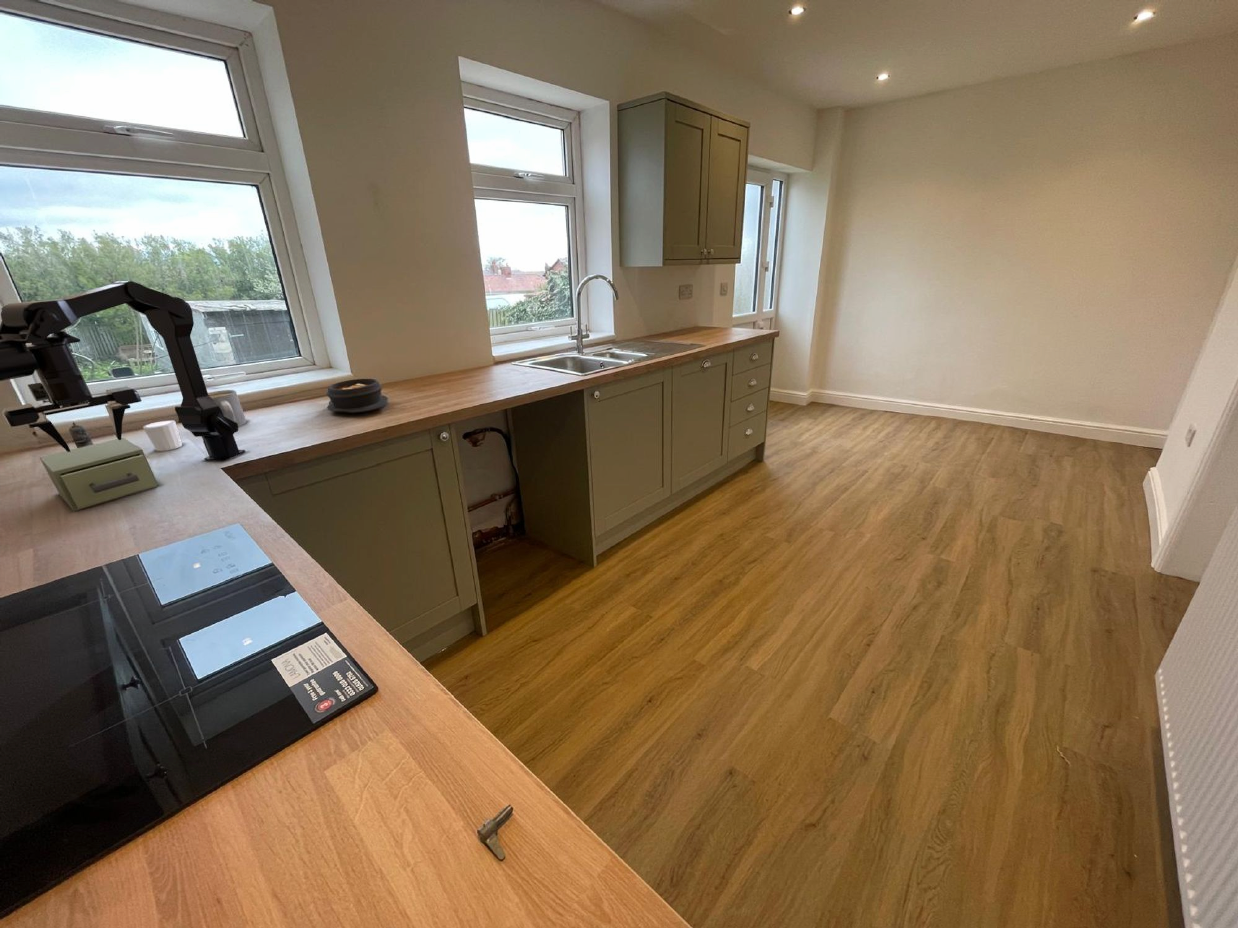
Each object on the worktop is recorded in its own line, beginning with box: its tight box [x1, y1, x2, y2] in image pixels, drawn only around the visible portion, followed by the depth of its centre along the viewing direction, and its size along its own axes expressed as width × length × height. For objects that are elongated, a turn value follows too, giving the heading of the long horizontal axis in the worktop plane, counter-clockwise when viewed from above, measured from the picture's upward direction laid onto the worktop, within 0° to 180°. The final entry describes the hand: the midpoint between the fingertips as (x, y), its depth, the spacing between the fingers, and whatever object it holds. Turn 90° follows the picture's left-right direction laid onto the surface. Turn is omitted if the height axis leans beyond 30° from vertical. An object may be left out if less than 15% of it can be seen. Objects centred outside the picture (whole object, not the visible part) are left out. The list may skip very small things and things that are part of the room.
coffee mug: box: [208, 389, 247, 427], centre depth 154 cm, size 13×10×10 cm
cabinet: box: [39, 437, 159, 512], centre depth 112 cm, size 16×14×9 cm
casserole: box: [325, 378, 389, 414], centre depth 166 cm, size 25×19×8 cm
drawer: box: [61, 455, 158, 510], centre depth 110 cm, size 19×13×7 cm
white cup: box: [142, 419, 183, 452], centre depth 138 cm, size 7×7×7 cm
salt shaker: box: [68, 421, 95, 449], centre depth 126 cm, size 6×6×12 cm
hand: (95, 445), depth 103 cm, fingers open, 7 cm apart
